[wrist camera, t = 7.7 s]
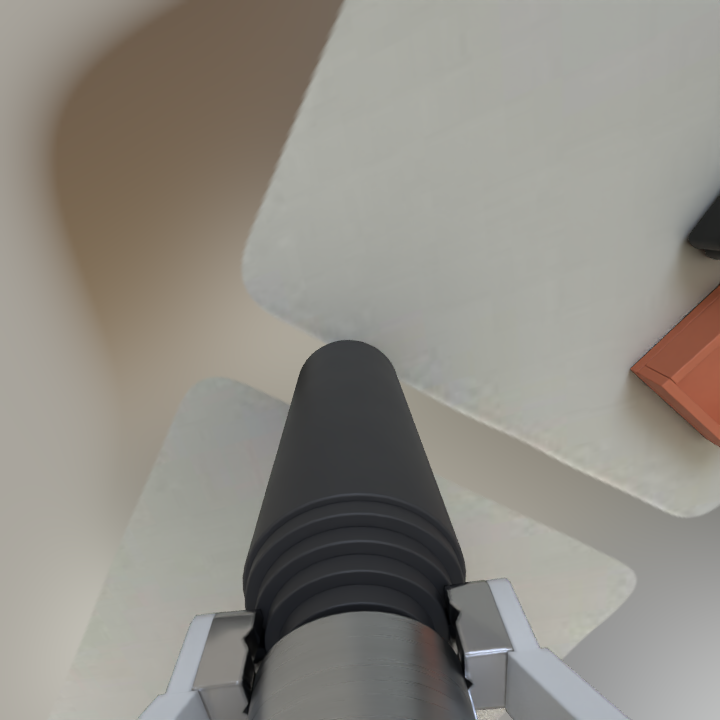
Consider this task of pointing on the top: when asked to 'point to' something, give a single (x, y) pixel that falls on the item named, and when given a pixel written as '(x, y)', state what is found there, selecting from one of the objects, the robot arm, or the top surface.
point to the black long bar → (708, 232)
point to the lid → (361, 672)
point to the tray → (689, 368)
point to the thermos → (350, 504)
